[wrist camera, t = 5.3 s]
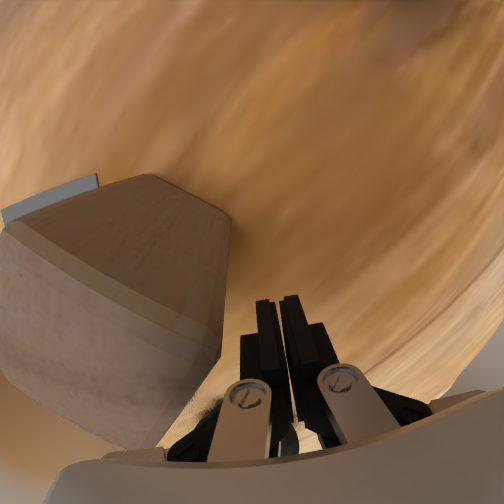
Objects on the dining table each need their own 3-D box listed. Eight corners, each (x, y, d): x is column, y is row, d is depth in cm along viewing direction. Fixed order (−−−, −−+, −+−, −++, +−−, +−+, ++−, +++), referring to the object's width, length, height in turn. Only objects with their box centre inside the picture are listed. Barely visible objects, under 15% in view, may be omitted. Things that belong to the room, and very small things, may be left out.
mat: (96, 173, 25) (95, 173, 25) (134, 309, 31) (134, 311, 31) (2, 209, 26) (0, 210, 26) (39, 316, 31) (38, 317, 31)
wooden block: (190, 296, 30) (149, 464, 11) (110, 254, 28) (-5, 378, 9) (235, 216, 28) (233, 356, 9) (145, 169, 25) (-10, 218, 7)
